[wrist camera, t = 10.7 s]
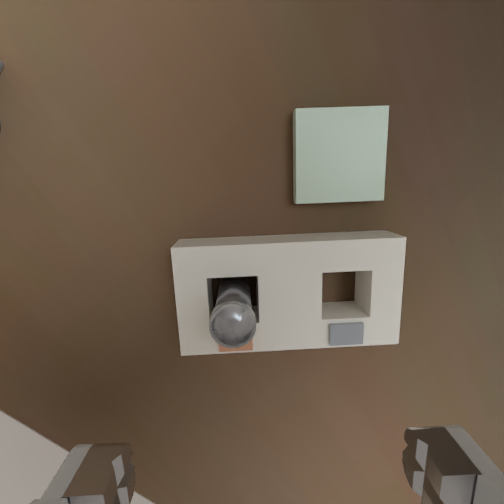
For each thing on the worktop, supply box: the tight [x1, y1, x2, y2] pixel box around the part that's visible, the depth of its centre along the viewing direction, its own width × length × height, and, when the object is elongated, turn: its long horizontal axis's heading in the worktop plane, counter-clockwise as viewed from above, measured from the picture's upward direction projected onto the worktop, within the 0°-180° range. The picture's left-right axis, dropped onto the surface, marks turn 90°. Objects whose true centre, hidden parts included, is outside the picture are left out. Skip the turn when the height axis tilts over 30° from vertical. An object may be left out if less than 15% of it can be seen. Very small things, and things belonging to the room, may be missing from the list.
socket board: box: [171, 230, 406, 356], centre depth 30 cm, size 20×10×4 cm, turn 92°
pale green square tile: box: [293, 106, 389, 204], centre depth 28 cm, size 8×8×2 cm
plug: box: [209, 276, 256, 348], centre depth 27 cm, size 3×3×9 cm
